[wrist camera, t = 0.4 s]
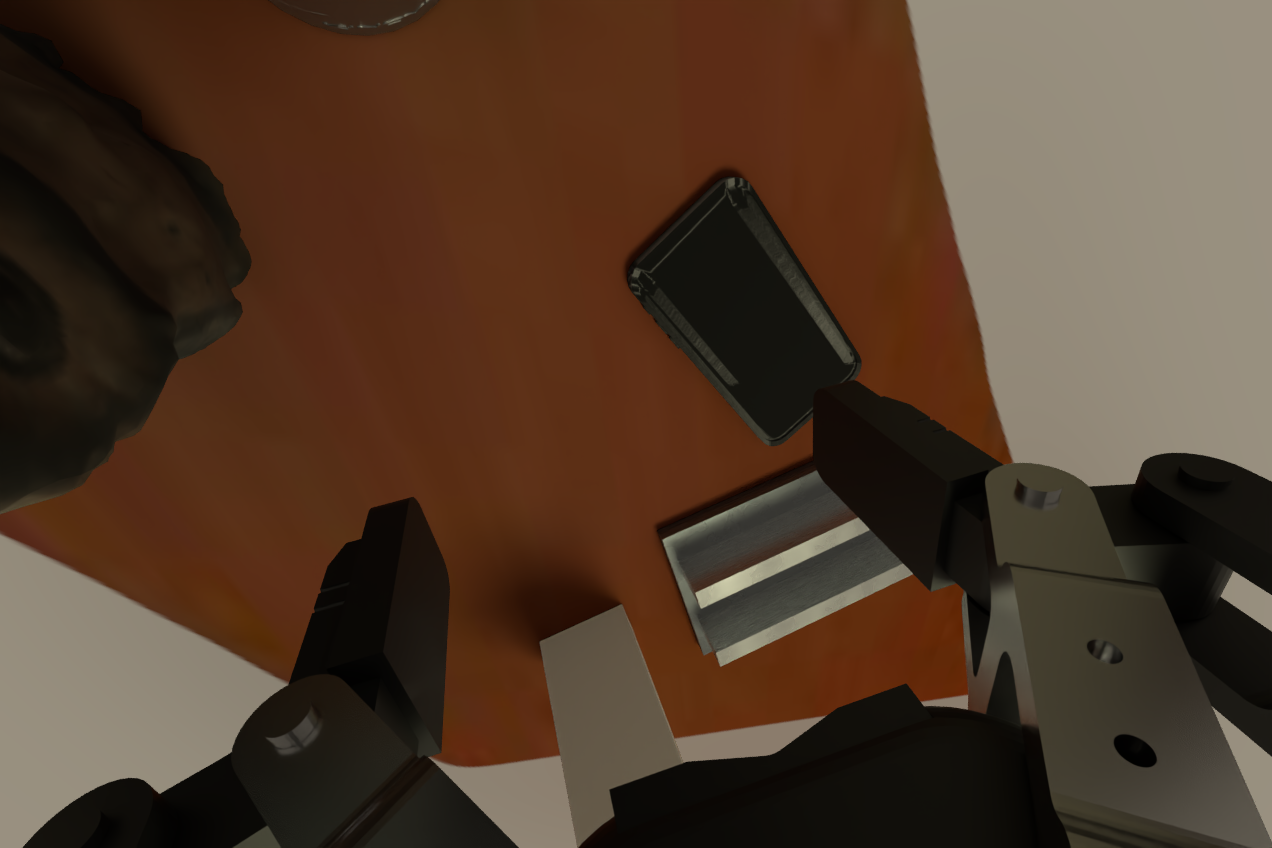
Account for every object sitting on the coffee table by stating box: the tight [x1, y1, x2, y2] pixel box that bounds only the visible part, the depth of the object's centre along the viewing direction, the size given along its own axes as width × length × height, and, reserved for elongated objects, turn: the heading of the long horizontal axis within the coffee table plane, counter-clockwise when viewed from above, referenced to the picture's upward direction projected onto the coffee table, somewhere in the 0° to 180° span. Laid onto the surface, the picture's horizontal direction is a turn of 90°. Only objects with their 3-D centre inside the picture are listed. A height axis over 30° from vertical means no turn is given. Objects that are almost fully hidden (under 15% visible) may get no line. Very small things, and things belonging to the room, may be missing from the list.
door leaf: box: [539, 604, 683, 847], centre depth 32 cm, size 3×6×16 cm, turn 107°
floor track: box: [657, 461, 913, 667], centre depth 39 cm, size 12×18×4 cm, turn 107°
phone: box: [627, 177, 861, 446], centre depth 32 cm, size 8×1×15 cm
